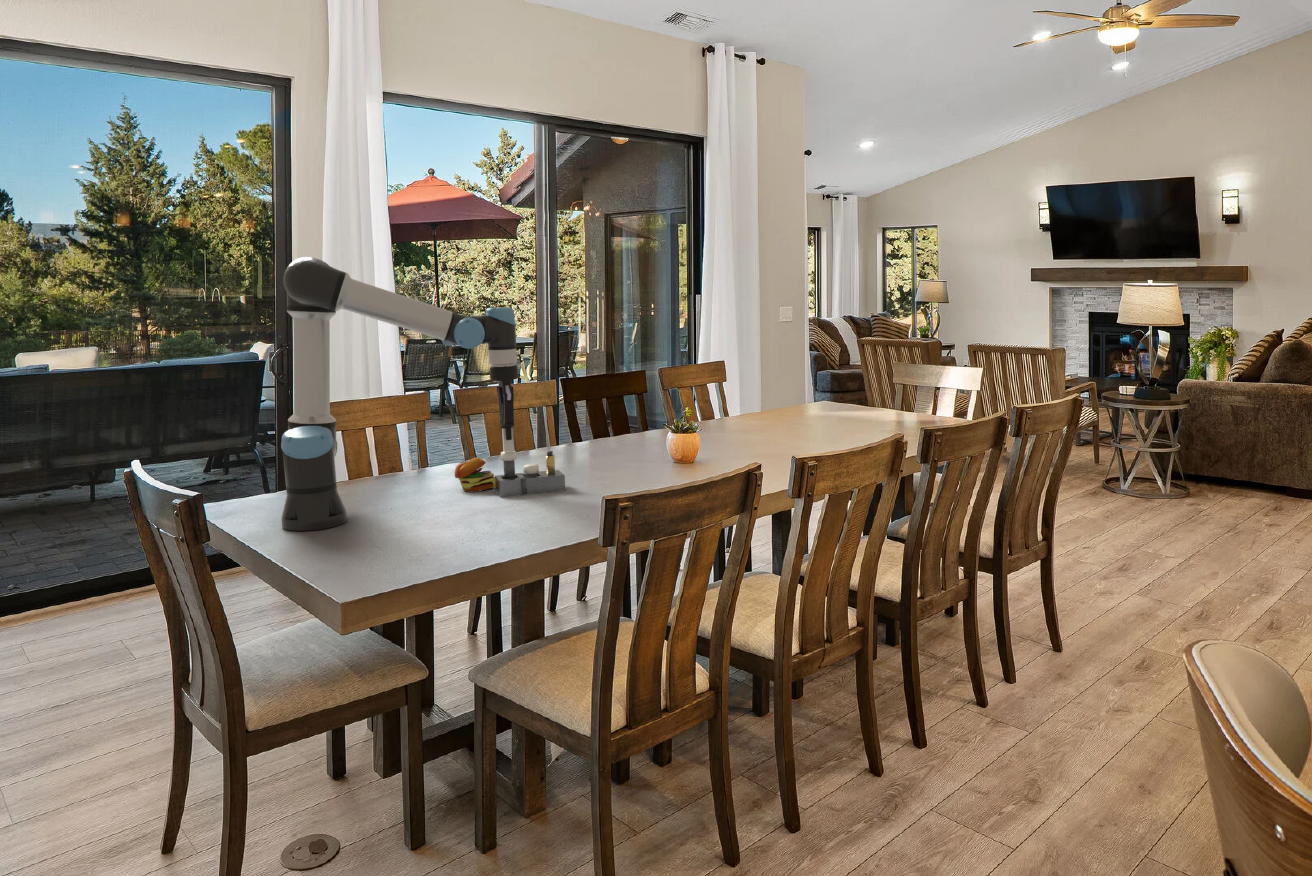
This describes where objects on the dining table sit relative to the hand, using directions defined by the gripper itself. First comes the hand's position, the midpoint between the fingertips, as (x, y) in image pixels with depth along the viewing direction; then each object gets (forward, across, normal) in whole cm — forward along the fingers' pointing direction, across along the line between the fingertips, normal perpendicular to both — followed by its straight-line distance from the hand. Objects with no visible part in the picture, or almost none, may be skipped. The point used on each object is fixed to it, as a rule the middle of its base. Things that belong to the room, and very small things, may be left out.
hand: (508, 451), depth 252 cm
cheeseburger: (+12, +10, +8) cm, 18 cm away
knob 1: (+7, 0, 0) cm, 7 cm away
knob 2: (+11, 0, -6) cm, 13 cm away
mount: (+12, 0, -5) cm, 13 cm away
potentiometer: (+7, 0, -11) cm, 14 cm away
